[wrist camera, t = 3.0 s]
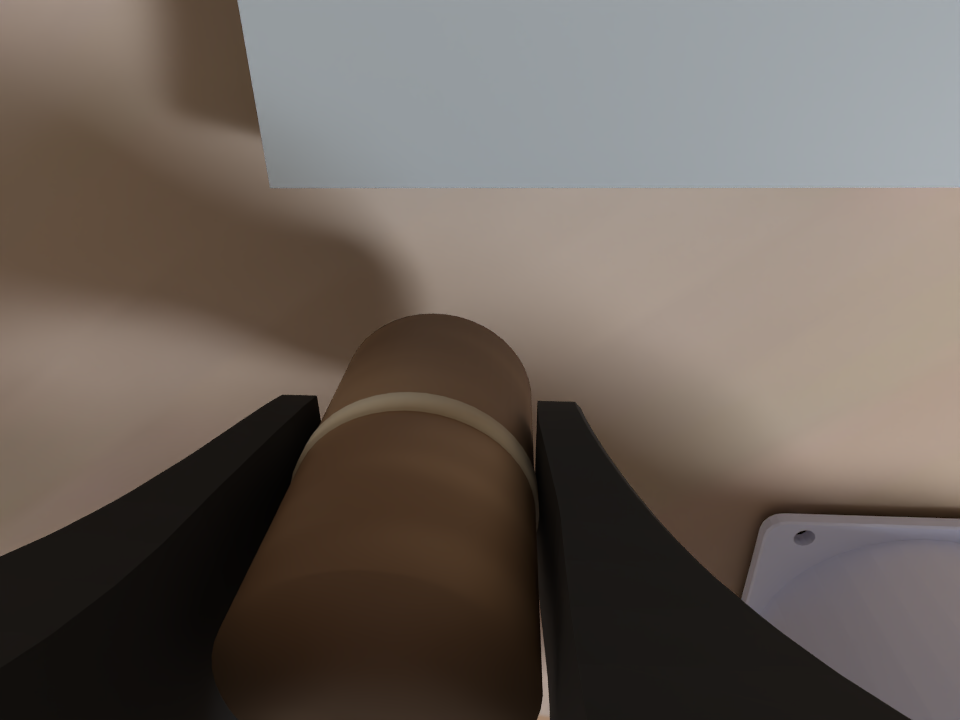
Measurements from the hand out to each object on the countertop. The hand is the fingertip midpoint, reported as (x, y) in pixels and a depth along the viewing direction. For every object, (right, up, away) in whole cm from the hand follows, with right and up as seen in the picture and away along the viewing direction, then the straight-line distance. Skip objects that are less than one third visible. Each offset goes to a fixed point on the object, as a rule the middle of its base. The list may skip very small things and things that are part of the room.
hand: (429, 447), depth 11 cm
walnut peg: (0, +1, +1) cm, 2 cm away
